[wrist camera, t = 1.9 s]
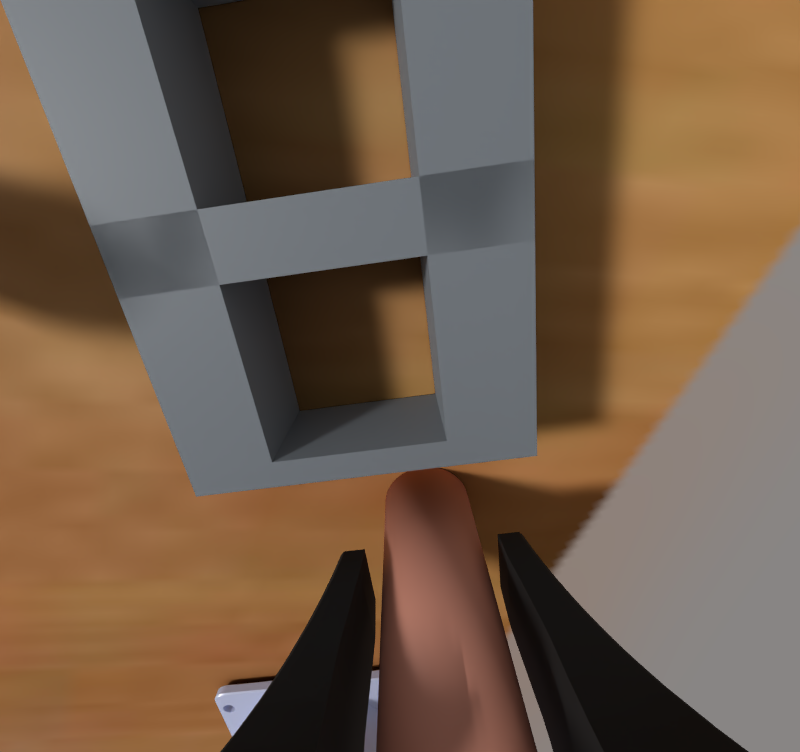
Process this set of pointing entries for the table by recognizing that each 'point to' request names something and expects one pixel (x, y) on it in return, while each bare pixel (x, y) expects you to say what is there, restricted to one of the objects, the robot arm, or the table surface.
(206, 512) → the table surface
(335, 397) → the table surface
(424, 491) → the peg
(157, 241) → the hole block
